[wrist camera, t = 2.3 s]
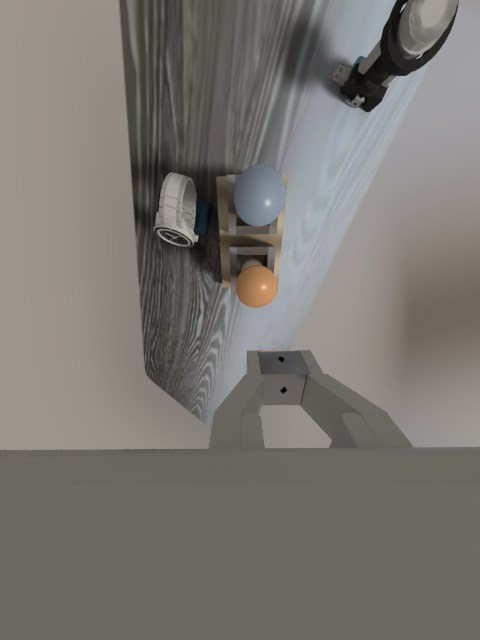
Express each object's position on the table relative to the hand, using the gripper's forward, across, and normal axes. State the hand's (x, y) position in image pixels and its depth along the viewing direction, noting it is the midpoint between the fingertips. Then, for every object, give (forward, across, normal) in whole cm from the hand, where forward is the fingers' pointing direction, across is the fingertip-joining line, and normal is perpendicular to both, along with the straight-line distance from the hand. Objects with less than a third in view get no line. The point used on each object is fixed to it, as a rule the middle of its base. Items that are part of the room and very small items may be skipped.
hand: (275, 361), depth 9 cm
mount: (+27, 0, -4) cm, 27 cm away
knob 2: (+21, 0, 0) cm, 21 cm away
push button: (+27, -13, -21) cm, 37 cm away
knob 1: (+21, 0, -8) cm, 22 cm away
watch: (+27, +9, -7) cm, 30 cm away
